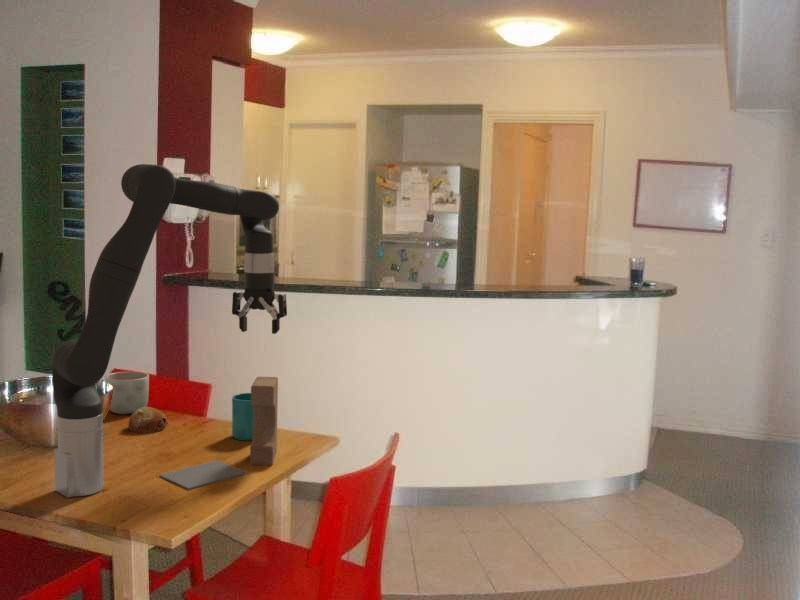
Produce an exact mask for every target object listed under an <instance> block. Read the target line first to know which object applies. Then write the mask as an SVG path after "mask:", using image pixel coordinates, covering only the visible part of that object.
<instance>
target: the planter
mask: <svg viewBox="0 0 800 600" xmlns="http://www.w3.org/2000/svg"><path fill="white" fill-rule="evenodd" d="M106 381H107V382H109V383H110V384H111V385H112V386H113V394H112V400H111V407H110V409H109V411H111V413H114V414H118V415H132V414H133V413H134V412H135V411H136V410H138V409H140V408H142V407H148V403H149V386H150V375H149V374H148V373H146V372H141V371H119V372H113V373H110V374H107V375H106V376H105V382H106Z"/></svg>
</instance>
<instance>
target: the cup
mask: <svg viewBox="0 0 800 600" xmlns="http://www.w3.org/2000/svg"><path fill="white" fill-rule="evenodd" d="M253 422H254V412H253V405H251V392H245V393H244V392H242V393H237V394H234V395H232V397H231V437H232V438H234V439H235V440H238V441H250V442H251V441H252V436H253Z"/></svg>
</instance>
